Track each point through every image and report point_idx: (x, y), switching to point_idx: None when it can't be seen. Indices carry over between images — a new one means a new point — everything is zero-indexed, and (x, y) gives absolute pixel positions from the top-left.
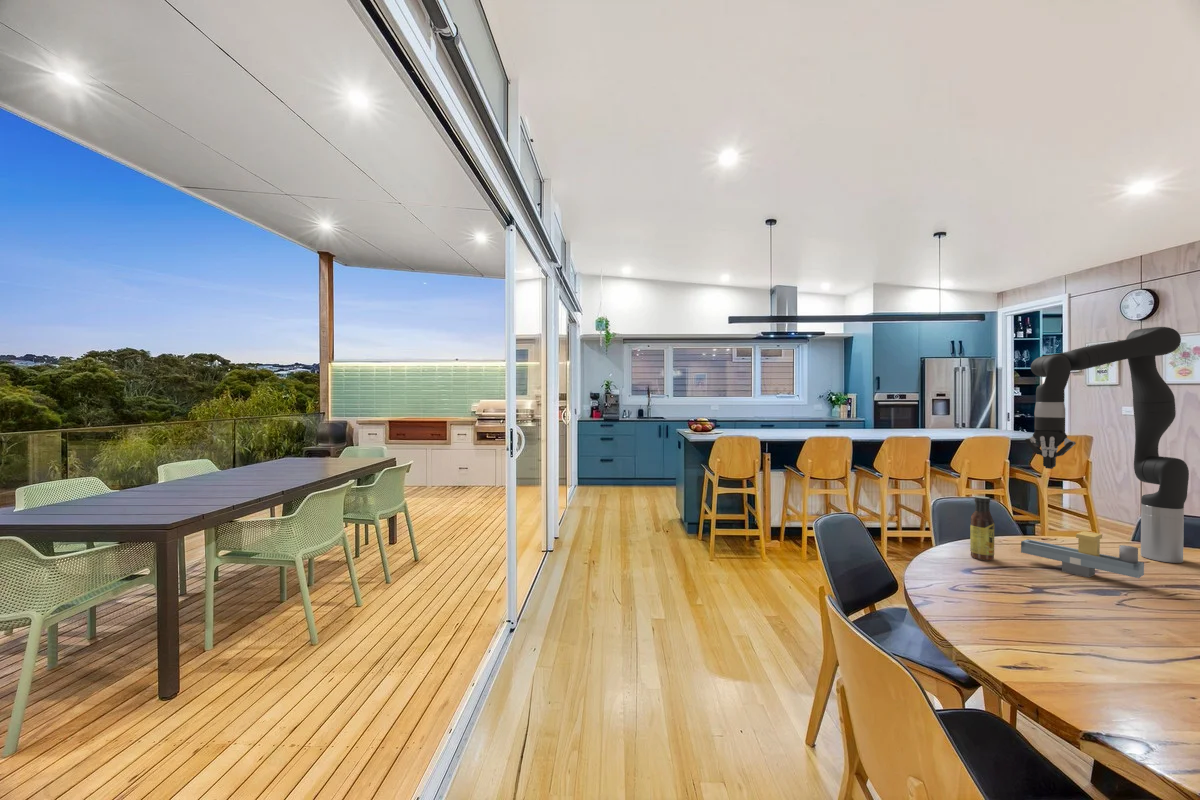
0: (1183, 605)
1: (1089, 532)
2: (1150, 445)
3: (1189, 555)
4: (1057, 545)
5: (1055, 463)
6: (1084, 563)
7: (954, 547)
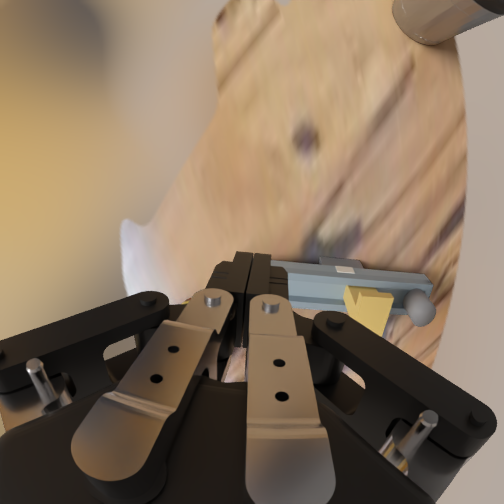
0: (441, 321)
1: (372, 303)
2: None
3: None
4: (306, 278)
5: (287, 285)
6: None
7: (137, 274)
